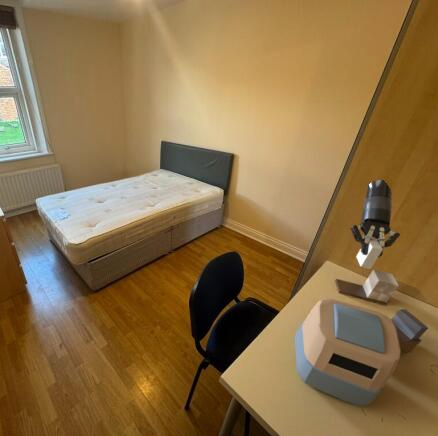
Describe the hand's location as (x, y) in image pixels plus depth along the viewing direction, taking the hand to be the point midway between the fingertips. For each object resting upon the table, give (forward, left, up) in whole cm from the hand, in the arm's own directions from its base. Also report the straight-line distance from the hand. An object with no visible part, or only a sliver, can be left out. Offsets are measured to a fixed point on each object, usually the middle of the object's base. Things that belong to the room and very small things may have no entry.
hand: (371, 255), depth 82 cm
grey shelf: (+5, +21, -20) cm, 29 cm away
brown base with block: (-5, -1, -20) cm, 20 cm away
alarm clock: (+25, +31, -20) cm, 44 cm away
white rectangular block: (-1, -2, -5) cm, 5 cm away
